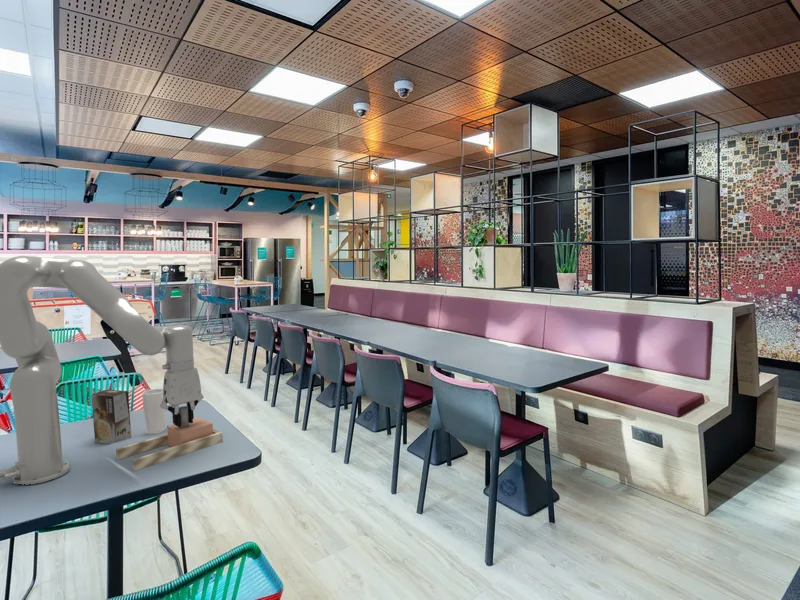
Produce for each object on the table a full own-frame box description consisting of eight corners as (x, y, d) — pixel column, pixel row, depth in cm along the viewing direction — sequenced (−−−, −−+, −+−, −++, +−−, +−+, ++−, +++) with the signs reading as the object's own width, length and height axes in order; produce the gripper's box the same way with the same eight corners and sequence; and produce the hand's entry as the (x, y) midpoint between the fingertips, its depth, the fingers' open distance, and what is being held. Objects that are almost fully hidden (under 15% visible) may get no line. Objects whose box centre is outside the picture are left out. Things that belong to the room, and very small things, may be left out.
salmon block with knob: (182, 452, 140) (180, 413, 139) (168, 444, 146) (166, 407, 145) (213, 441, 148) (211, 404, 147) (199, 435, 153) (197, 399, 152)
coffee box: (132, 437, 155) (129, 390, 154) (116, 445, 149) (113, 396, 147) (110, 435, 157) (106, 389, 156) (93, 442, 151) (90, 394, 150)
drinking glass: (171, 431, 161) (169, 388, 159) (159, 438, 154) (157, 394, 153) (153, 430, 161) (150, 388, 160) (140, 438, 155) (137, 393, 153)
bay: (135, 474, 128) (134, 460, 128) (116, 462, 136) (115, 448, 136) (222, 444, 148) (222, 432, 148) (201, 435, 156) (201, 424, 156)
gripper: (158, 372, 134) (162, 434, 136) (212, 362, 147) (214, 419, 148) (147, 369, 139) (150, 428, 141) (200, 359, 152) (202, 414, 153)
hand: (183, 423), depth 144 cm, fingers closed on salmon block with knob, 3 cm apart
